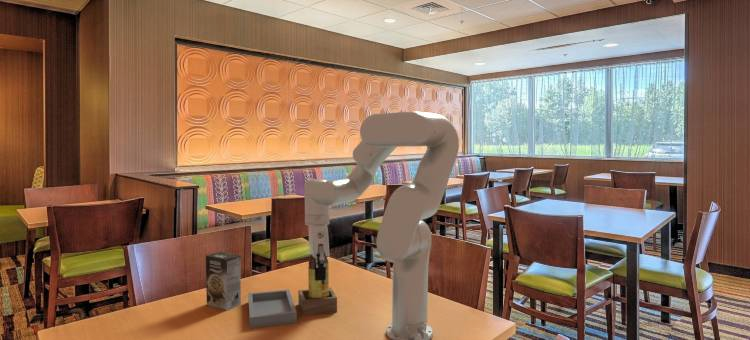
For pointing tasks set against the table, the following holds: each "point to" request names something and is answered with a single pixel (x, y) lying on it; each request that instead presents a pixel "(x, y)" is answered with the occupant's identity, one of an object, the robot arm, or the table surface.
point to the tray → (271, 308)
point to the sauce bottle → (321, 286)
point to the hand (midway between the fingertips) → (318, 276)
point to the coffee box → (223, 280)
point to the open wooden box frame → (317, 303)
